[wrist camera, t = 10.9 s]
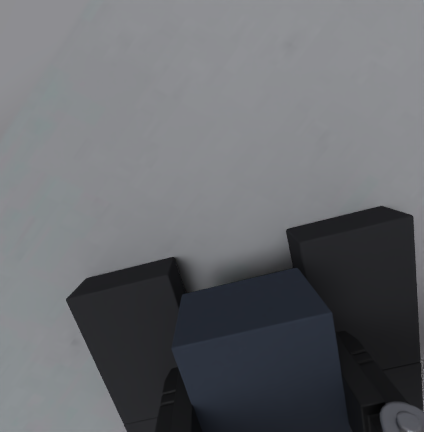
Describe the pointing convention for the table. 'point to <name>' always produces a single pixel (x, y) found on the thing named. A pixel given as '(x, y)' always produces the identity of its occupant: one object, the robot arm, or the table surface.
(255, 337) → the small block
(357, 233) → the black notched square slab
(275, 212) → the table surface
